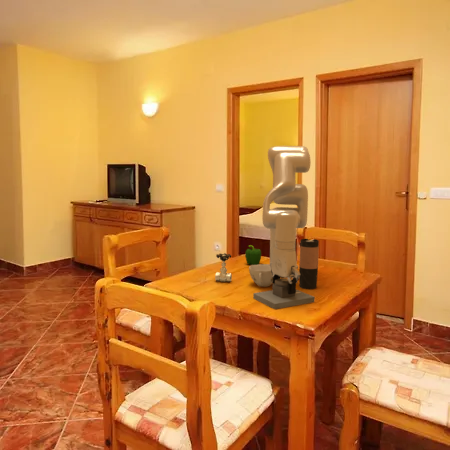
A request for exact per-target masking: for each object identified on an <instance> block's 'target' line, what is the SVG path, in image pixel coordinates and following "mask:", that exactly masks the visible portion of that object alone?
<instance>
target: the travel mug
mask: <svg viewBox="0 0 450 450" xmlns="http://www.w3.org/2000/svg"><path fill="white" fill-rule="evenodd" d="M299 244H300V247H299V248H300V249H299V263H298V264H299V265H298V269H299V270H298V271H299V273H300V277H299V280H298V282H299V283H298V284H299V285H298V286H299V288H301V289H303V290H315V289H317V287H318V286H317V285H318V275H319V274H318V273H319V249H320V248H319V246H320V245H319V244H320V241H319V240H318V239H316V238H314V239H311V240H310V239H308V238H302V239H300V243H299Z"/></svg>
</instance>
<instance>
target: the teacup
mask: <svg viewBox="0 0 450 450" xmlns="http://www.w3.org/2000/svg"><path fill="white" fill-rule="evenodd" d="M248 271H249V275H250V277H251V280H252V281H253V282H254V283H255V284H256V285H257V286H258V287H261V288H262V287H264V288H266V287H270V286H271V285H273V277H272V272H271V267H270V263H267V264H265V263H261V264H260V263H259V264H258V265H249V267H248Z"/></svg>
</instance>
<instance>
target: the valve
mask: <svg viewBox="0 0 450 450" xmlns="http://www.w3.org/2000/svg"><path fill="white" fill-rule="evenodd" d="M215 255H216V256H215V257H216V258H217V259H219V261H222V262H221V268H220V269H219V271H220V272H218V271H217V272H216V273H215V281H216V282H221V283H222V282H223V283H226V282H228V283H229V282H230V283H231V282H232V273H231V272H228V268H226V267H227V261H228V260H229V259H231V258H232V255H231V253H226V252H225V253H216V254H215Z"/></svg>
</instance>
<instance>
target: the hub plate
mask: <svg viewBox="0 0 450 450" xmlns="http://www.w3.org/2000/svg"><path fill="white" fill-rule="evenodd" d="M272 292H273V289H272V290H266V291H260V292H254V293H253V299H254V300H256V301H258V302H260V303H261V304H264V305H266V306H267V307H269V308H271V309H273V310H278V309H285V308H290V307H295V306H299V305H301V306H302V305H306V304H311V303H315V296H314V295H312V294H308V293H307V292H304V291H302V290H298V289H297V288H296V293H295V296H291V297H286V298H280V297H278V296H276V295H274V294H272Z"/></svg>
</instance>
